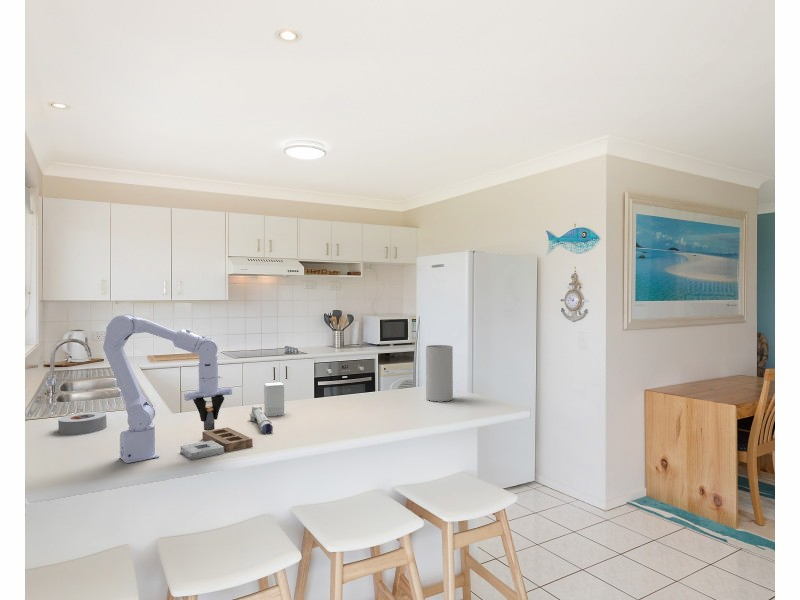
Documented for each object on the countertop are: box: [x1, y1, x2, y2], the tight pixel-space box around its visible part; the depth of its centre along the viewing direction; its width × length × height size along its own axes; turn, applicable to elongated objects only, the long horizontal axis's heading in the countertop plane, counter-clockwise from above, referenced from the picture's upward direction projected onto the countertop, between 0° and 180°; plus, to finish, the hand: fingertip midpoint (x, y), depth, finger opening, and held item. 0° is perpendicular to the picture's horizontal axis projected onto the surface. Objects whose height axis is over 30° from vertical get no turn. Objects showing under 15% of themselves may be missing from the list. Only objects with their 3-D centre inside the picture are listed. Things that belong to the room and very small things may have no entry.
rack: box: [202, 426, 254, 453], centre depth 178 cm, size 9×20×2 cm, turn 41°
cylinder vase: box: [425, 344, 454, 403], centre depth 248 cm, size 12×12×25 cm
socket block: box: [180, 440, 225, 461], centre depth 167 cm, size 10×10×2 cm
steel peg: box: [203, 405, 215, 431], centre depth 168 cm, size 3×3×7 cm
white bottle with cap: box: [249, 404, 274, 434], centre depth 201 cm, size 5×7×25 cm
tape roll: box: [57, 411, 108, 436], centre depth 197 cm, size 15×15×5 cm
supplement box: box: [263, 381, 285, 417], centre depth 220 cm, size 7×7×13 cm
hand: (209, 420), depth 168 cm, fingers closed on steel peg, 3 cm apart
